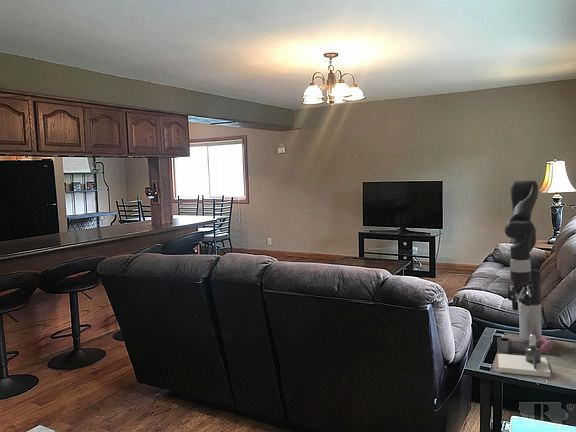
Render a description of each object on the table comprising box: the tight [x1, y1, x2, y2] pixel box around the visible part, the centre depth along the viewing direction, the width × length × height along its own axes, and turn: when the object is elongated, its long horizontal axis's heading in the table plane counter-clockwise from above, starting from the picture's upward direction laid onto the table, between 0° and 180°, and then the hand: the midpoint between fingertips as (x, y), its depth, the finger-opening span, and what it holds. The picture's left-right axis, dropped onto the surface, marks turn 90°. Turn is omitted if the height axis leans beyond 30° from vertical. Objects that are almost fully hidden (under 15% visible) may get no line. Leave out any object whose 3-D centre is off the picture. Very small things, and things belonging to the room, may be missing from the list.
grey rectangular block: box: [496, 336, 530, 355], centre depth 201 cm, size 6×12×6 cm, turn 67°
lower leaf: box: [524, 334, 542, 369], centre depth 184 cm, size 11×6×11 cm, turn 157°
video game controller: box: [536, 335, 554, 354], centre depth 203 cm, size 10×5×7 cm, turn 169°
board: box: [497, 353, 552, 378], centre depth 187 cm, size 15×18×2 cm
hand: (521, 308), depth 189 cm, fingers open, 8 cm apart
